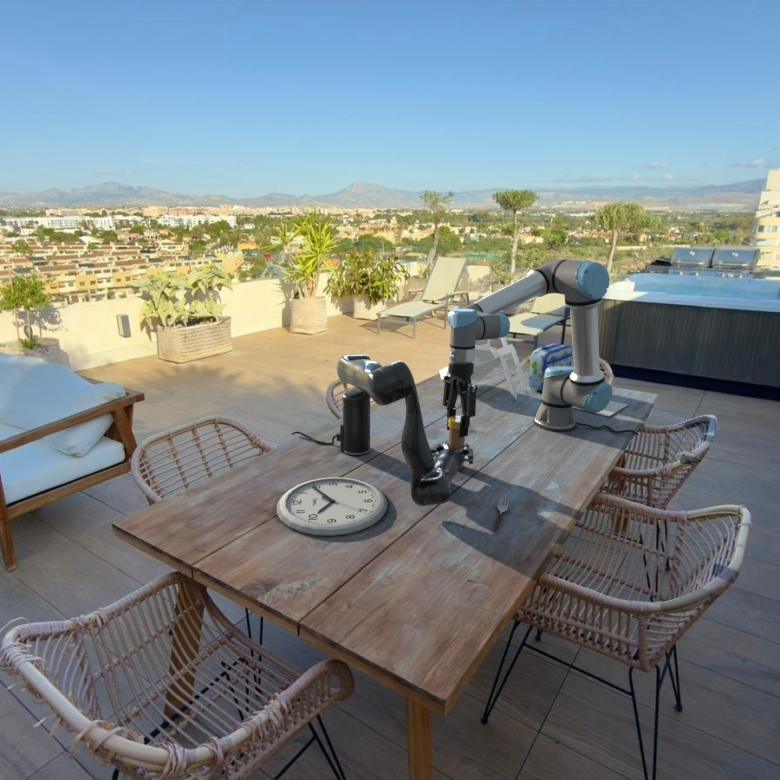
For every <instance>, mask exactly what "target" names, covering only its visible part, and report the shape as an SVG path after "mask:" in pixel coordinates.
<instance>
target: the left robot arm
mask: <svg viewBox="0 0 780 780" xmlns="http://www.w3.org/2000/svg"><path fill="white" fill-rule="evenodd" d="M336 373H337V374H336V375H337V376H338V379H339V381H340V382H341V383H343V384H346V385H351V386H353V387H352V388H351V389H350V390H346V391H345V392H344V393H343V394H342V397H341V398H342V399H341V400H342V402H341V403H342V423H341V424H340V429H339V430H340V431H338V432H337V433H336V434H335V435H333V436H332V438H331V442H325V441H321V440H318V439H315V438H314V437H312V436H311V435H307V434H305V433H303V432H302V431H293V432H291V435H292V436H293V435H295V434H296V435H297V434H299V435H302V436H304V437H305V438H308V439H310V440H311V441H312V442H315V443H318V444H321V445H329V446H330V445H334V443H335V439H336V442H340V452H342V453H345V454H346V455H350V456H364V455H367V454H368V453H370V452H371V399H372V401H373V402H375V403H376V404H377V405H378V406H388V405H391V404H393V403H397V402H398V401H400V400H403V399H404V402H405V419H404V424H403V429H402V432H401V437H400V438H401V439H400V444H401V445H400V446H401V451H402V454H403V457H404V460H405V463H406V466H407V469H408V473H409V481H410V483H409V485H410V497H411V500H412V501H413V503H414V504H415V505H417V506H419V507H429V506H437V505H442V504H446V503H448V501H449V500H450V499H451V498H452V497H451V495H452V490H451V483H452V481H453V480H454V478H455V477H456V476H457V474H458V472H459V470H460V469H459V468H460V466H461V463H463V464H464V463H465V462H467V463H468V464H469V465H473V464H474V449H473V448H470V444H469V443H468V442H465V443H464V447H463V448H459V449H457V450H452V449H449V440H448V441H445V443H444V444H441V443H437V444H435V445H434V446H433V447H430V444H429V441H428V437H427V434H426V431H425V425H424V421H423V415H422V409H421V404H420V400H419V399H420V398H419V395H418V391H417V386H416V382H415V378H414V376H413V372H412V371H411V369H410V367H409V366H408V364H407V363H406V362H404V361H403V360H396V361H394V362H390V363H389V364H386V365H384V366H383V365H382V364H381V363H379V362H378V361H376V360H372V359H371V357H370V355H368V354H347V355H342V356H341V357H340V358H339V359H338V361H337V363H336ZM424 476H425V478H423V477H424Z"/></svg>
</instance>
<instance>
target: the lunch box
mask: <svg viewBox="0 0 780 780" xmlns="http://www.w3.org/2000/svg"><path fill="white" fill-rule="evenodd" d="M572 362H573V347H572V346H571V345H566V344H560V343H551V344H548V345H544V346H541V347H538V348H536V349H534V350H533V351H532V353H531V355H530V359H529V370H528V371H529V372H528V389H531V390H536V391H541V392H542V391H543V379H544V375H545V370H546V369H547V368H549V367H555V366H569V367H572V365H573V363H572Z"/></svg>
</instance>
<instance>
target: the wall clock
mask: <svg viewBox="0 0 780 780" xmlns="http://www.w3.org/2000/svg"><path fill="white" fill-rule="evenodd" d="M387 509H388V500H387V498H386V496H385V494H384V493H383V492H382V491H381V490H380V489H379V488H377V487H376V486H374V485H372V484H371V483H369V482H365V481H362V480H359V479H355V478H349V477H338V476H337V477H335V476H333V477H332V476H331V477H322V478H317V479H312V480H307V481H305V482H302V483H299V484H297V485H295V486H293V487H292V488H290V489H288V490H287V491H286V492H285V493H284V494H283V495H281V496H280V498H279V499H278V502H277V503H276V515H277V517H278V518H279V520H280V521H281V522H282V523H283V524H285V525H286V526H287V527H288V528H290V529H293V530H295V531H297V532H299V533H303V534H308V535H312V536H327V537H328V536H329V537H331V536H332V537H333V536H342V535H350V534H352V533H356V532H361V531H363V530H366V529H368V528H369V527H372V526H373V525H375V524H376V523H378V522H379V521H380V520H381V519H382V518H383V517H384V516H385V514H386V512H387Z"/></svg>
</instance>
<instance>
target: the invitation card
mask: <svg viewBox="0 0 780 780" xmlns="http://www.w3.org/2000/svg"><path fill="white" fill-rule="evenodd" d="M628 406H629V404H627V403H623V402H618V401H614V400H610V402H609V403H608V405H607V406H606V407H605V408H604V409H603V410H602V411H600V412H597V413H595V414H596V415H600V416H604V417H608V418H609V417H611V416H613V415H614V414H616V413H617V412H619V411H621V410H623V409H624V408H626V407H628ZM573 409H575V410H581V411H584V410H583V409H580V408H578V407H575V406H573Z"/></svg>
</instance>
